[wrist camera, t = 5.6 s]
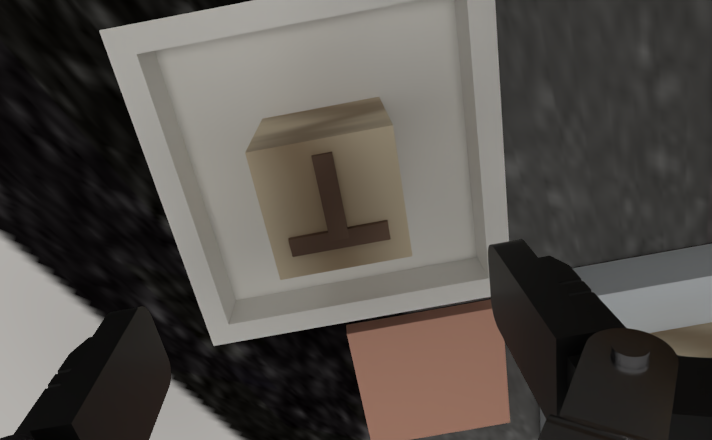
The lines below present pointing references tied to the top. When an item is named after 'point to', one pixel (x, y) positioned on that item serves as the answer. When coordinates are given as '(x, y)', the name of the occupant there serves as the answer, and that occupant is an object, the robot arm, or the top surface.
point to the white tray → (305, 92)
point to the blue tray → (655, 289)
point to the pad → (431, 372)
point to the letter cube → (330, 188)
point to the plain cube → (689, 340)
